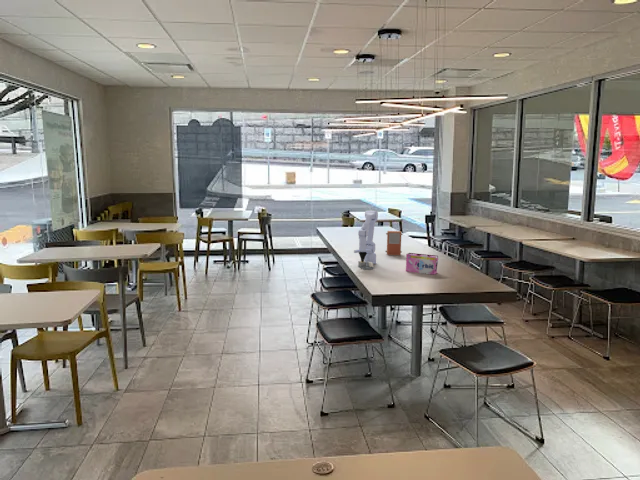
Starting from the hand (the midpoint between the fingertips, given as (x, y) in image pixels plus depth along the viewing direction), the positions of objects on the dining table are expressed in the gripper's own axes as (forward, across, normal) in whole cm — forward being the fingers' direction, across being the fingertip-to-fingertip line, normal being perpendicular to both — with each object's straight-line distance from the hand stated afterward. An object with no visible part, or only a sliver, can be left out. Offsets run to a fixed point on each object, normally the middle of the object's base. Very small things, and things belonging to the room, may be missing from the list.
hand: (362, 261), depth 394 cm
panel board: (+5, +2, -4) cm, 6 cm away
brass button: (+3, 0, 0) cm, 3 cm away
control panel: (+5, +52, +42) cm, 67 cm away
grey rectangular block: (+3, +4, -4) cm, 6 cm away
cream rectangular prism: (+3, +4, -8) cm, 9 cm away
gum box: (+5, +36, -30) cm, 47 cm away
